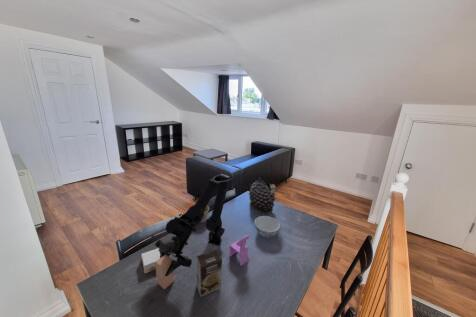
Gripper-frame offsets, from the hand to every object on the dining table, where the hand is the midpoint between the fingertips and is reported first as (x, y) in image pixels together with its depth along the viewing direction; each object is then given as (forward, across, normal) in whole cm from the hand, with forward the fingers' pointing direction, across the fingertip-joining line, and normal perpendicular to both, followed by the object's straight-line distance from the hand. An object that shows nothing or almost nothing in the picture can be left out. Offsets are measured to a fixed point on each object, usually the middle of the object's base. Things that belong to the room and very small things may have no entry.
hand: (162, 272), depth 85 cm
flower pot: (-26, -19, +35) cm, 48 cm away
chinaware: (-36, +20, +46) cm, 62 cm away
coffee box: (-3, +16, +13) cm, 21 cm away
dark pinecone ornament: (-51, +4, +61) cm, 80 cm away
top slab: (+1, -13, +6) cm, 15 cm away
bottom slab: (+2, -13, +8) cm, 16 cm away
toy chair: (-18, +17, +28) cm, 38 cm away
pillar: (+4, 0, +6) cm, 7 cm away
